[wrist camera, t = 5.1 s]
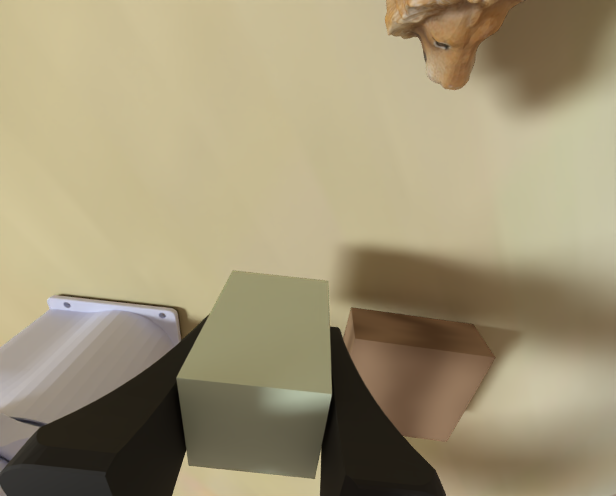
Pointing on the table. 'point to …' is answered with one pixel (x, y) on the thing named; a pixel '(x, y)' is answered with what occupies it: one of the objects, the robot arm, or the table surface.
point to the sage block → (260, 377)
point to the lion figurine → (447, 32)
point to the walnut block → (418, 368)
